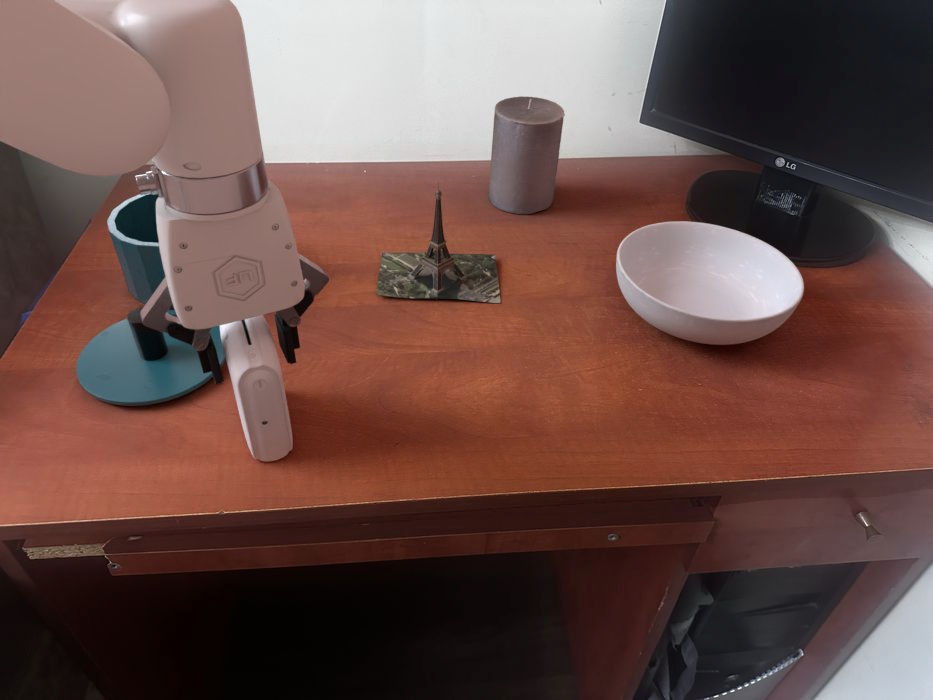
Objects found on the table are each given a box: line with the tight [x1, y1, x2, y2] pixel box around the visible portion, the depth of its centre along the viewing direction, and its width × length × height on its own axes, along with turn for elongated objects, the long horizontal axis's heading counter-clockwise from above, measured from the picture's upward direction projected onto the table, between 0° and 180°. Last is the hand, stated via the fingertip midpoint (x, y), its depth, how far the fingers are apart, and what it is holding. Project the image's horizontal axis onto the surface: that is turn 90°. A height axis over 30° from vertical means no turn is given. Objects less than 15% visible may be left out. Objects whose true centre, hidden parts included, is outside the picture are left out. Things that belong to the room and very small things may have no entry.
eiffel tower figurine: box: [375, 182, 502, 304], centre depth 84 cm, size 15×10×13 cm
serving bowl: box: [615, 220, 805, 346], centre depth 83 cm, size 21×21×7 cm
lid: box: [75, 306, 226, 407], centre depth 73 cm, size 15×15×6 cm
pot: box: [106, 193, 175, 310], centre depth 85 cm, size 14×14×8 cm
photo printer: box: [220, 315, 294, 463], centre depth 65 cm, size 10×4×12 cm, turn 23°
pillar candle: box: [488, 96, 566, 215], centre depth 101 cm, size 10×10×15 cm
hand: (252, 362), depth 63 cm, fingers open, 5 cm apart
